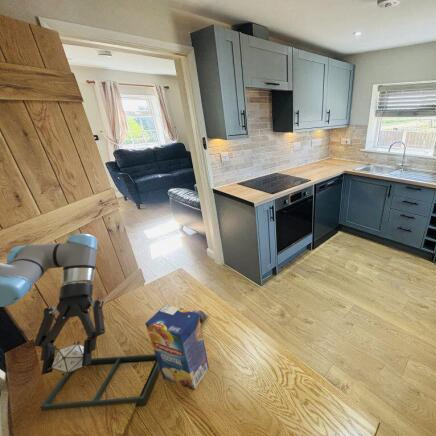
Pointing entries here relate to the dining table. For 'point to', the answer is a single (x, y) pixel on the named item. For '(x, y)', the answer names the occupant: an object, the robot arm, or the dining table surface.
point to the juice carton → (178, 345)
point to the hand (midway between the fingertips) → (67, 368)
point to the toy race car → (200, 315)
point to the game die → (68, 358)
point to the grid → (139, 400)
